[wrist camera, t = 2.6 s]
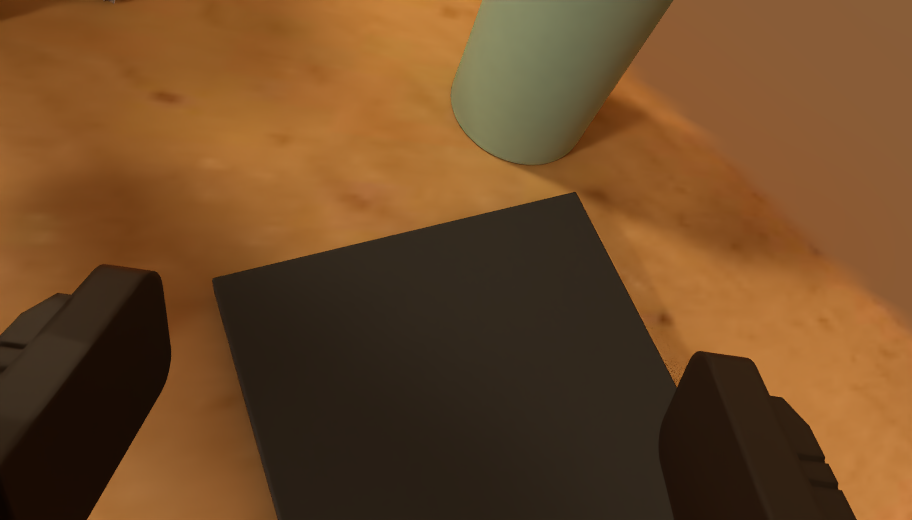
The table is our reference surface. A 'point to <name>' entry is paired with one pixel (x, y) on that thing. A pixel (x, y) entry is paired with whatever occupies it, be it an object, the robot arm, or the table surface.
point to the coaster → (453, 375)
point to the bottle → (545, 71)
